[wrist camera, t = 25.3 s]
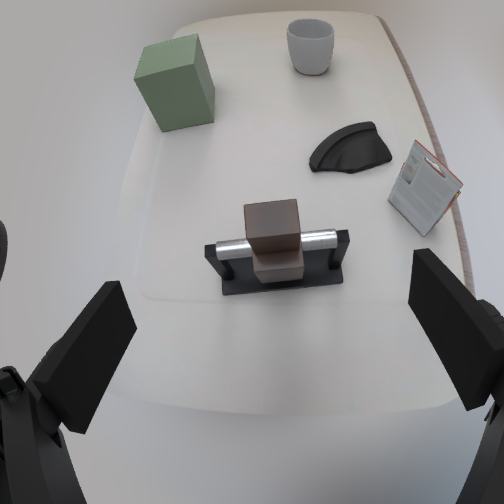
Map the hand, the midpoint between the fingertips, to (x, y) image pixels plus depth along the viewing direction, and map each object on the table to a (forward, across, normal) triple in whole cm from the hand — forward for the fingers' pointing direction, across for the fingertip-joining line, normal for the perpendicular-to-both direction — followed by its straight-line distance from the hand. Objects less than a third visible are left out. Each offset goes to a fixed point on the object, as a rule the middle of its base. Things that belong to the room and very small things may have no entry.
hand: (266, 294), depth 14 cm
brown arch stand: (+24, 0, -10) cm, 26 cm away
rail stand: (+27, 0, -13) cm, 30 cm away
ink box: (+32, +21, -9) cm, 39 cm away
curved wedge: (+40, +14, 0) cm, 43 cm away
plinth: (+51, -14, +10) cm, 54 cm away
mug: (+58, +11, +18) cm, 62 cm away
